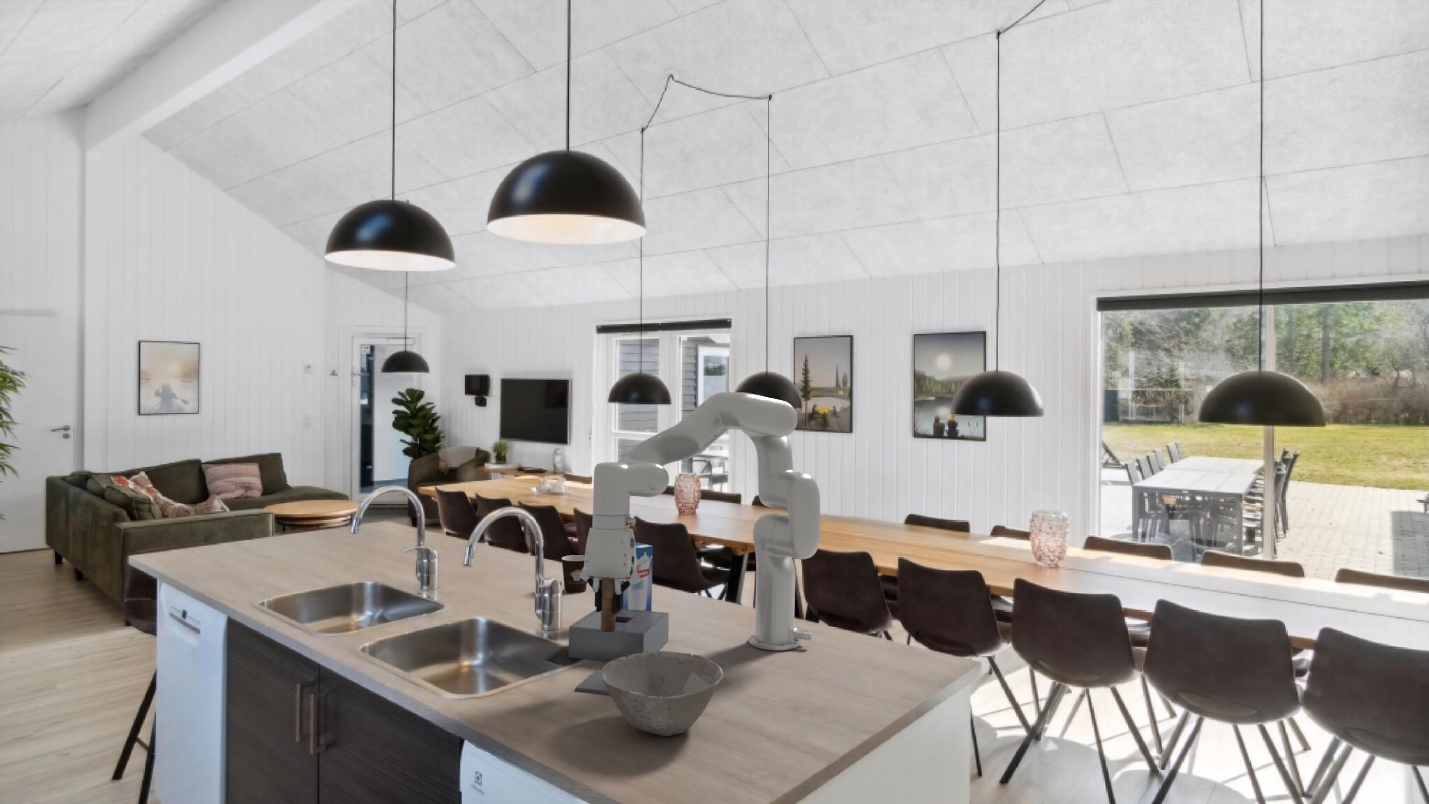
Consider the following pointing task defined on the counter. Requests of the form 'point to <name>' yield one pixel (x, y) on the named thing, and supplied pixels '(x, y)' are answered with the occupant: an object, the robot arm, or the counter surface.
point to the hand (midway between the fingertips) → (608, 610)
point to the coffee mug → (573, 573)
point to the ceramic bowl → (661, 689)
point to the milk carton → (641, 591)
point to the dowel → (607, 605)
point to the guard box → (618, 635)
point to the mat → (593, 684)
